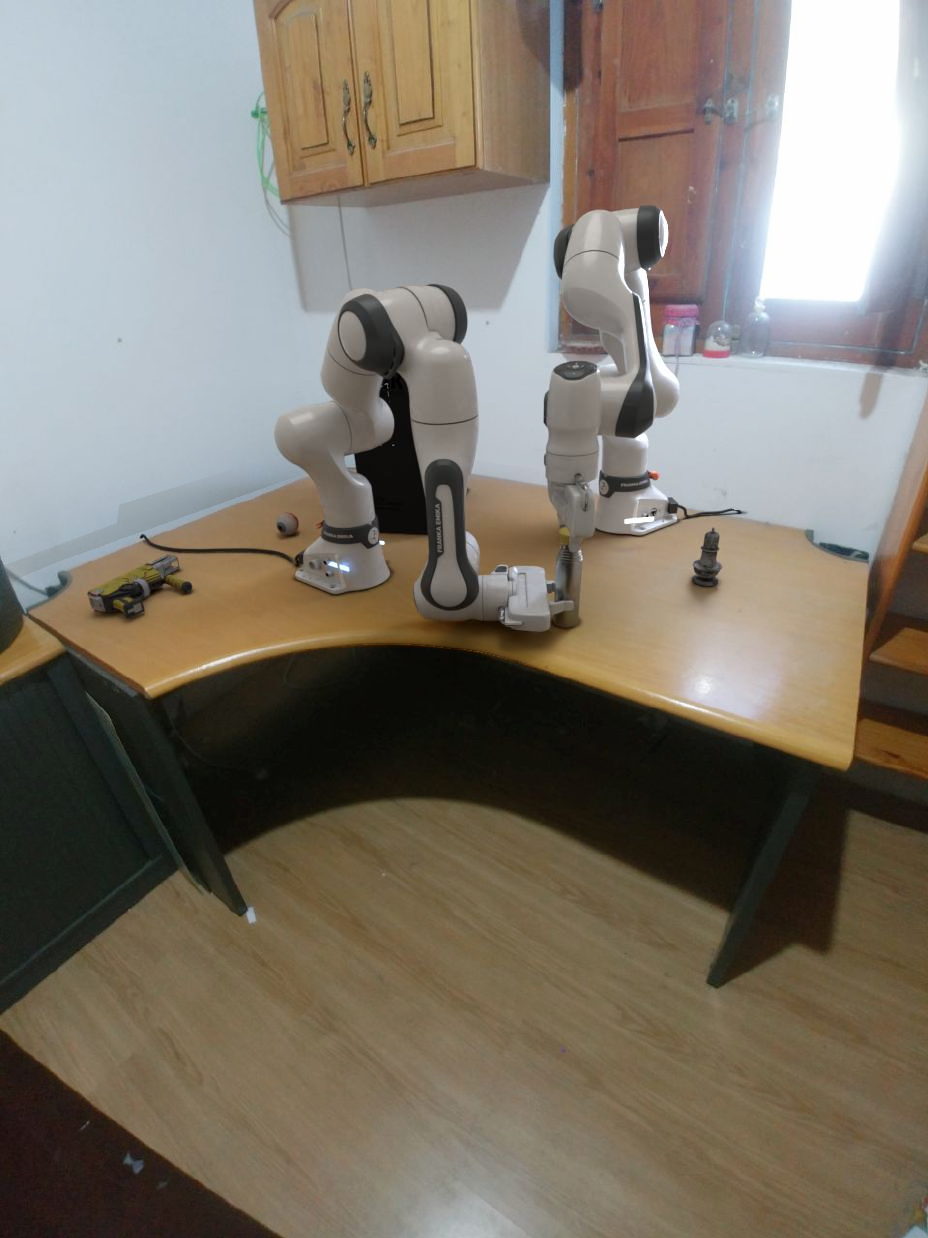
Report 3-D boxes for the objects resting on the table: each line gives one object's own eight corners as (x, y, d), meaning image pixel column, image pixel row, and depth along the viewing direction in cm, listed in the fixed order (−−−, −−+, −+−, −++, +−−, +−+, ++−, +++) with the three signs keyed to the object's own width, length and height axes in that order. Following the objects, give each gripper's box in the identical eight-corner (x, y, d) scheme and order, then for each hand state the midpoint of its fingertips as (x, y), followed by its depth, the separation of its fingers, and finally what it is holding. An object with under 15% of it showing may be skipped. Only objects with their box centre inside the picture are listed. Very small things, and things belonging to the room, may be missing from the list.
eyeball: (273, 537, 164) (268, 516, 161) (287, 528, 169) (282, 508, 166) (291, 539, 161) (286, 518, 158) (305, 530, 166) (301, 510, 163)
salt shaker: (721, 586, 126) (731, 533, 120) (692, 585, 127) (700, 532, 121) (717, 574, 131) (726, 522, 125) (688, 573, 132) (696, 521, 126)
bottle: (557, 613, 120) (561, 527, 111) (580, 617, 118) (587, 531, 109) (550, 625, 116) (554, 537, 107) (574, 629, 115) (580, 540, 106)
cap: (574, 547, 106) (575, 537, 105) (553, 542, 109) (554, 532, 108) (587, 539, 109) (587, 530, 108) (566, 534, 112) (566, 524, 111)
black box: (436, 534, 159) (422, 349, 137) (364, 531, 164) (339, 351, 141) (468, 489, 191) (460, 332, 168) (407, 487, 195) (391, 335, 173)
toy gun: (216, 562, 143) (165, 551, 147) (137, 606, 123) (80, 592, 127) (219, 580, 145) (169, 569, 149) (142, 626, 125) (86, 611, 129)
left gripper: (497, 609, 105) (577, 608, 104) (499, 560, 123) (567, 559, 122) (498, 640, 108) (576, 639, 107) (499, 588, 126) (566, 587, 125)
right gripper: (607, 483, 93) (601, 564, 100) (575, 450, 111) (572, 520, 118) (567, 486, 93) (564, 567, 100) (541, 452, 111) (540, 523, 118)
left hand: (571, 596), depth 115 cm, fingers closed on bottle, 5 cm apart
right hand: (568, 542), depth 109 cm, fingers open, 6 cm apart
